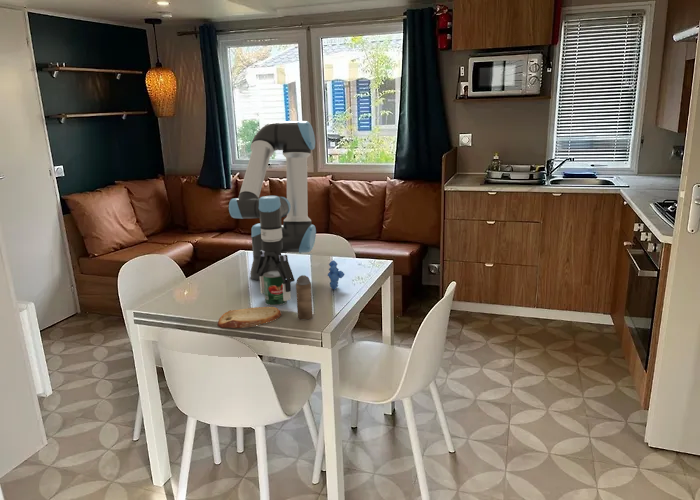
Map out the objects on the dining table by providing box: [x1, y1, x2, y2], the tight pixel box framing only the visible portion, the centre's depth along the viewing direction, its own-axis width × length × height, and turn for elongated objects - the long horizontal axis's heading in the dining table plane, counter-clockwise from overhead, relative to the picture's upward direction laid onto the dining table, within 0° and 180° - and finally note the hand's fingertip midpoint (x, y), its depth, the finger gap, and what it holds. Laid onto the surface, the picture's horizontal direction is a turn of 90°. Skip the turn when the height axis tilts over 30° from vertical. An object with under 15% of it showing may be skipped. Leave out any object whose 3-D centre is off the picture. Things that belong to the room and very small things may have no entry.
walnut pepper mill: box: [295, 274, 314, 320], centre depth 188 cm, size 5×5×15 cm
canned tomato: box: [263, 271, 288, 307], centre depth 204 cm, size 8×8×11 cm
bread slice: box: [217, 306, 282, 329], centre depth 189 cm, size 18×18×4 cm
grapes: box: [327, 260, 345, 291], centre depth 217 cm, size 12×7×12 cm, turn 1°
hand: (275, 296), depth 205 cm, fingers open, 13 cm apart
